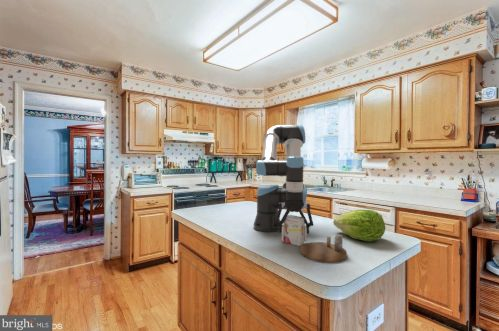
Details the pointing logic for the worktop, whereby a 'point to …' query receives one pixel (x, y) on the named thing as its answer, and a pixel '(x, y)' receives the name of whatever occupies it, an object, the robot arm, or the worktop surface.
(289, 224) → the ink box
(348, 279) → the worktop surface
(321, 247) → the disc
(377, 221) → the lettuce
